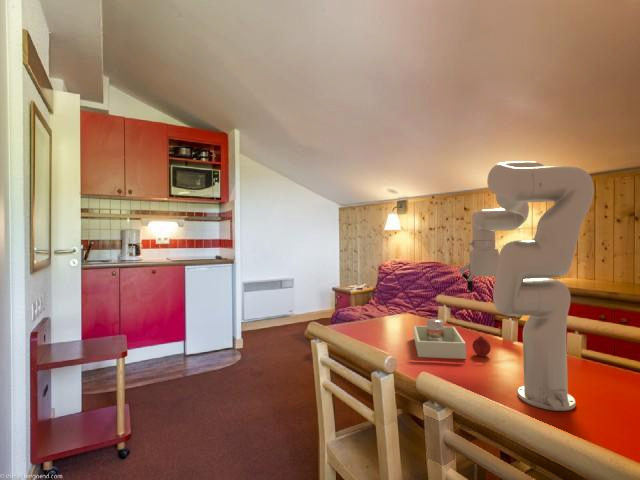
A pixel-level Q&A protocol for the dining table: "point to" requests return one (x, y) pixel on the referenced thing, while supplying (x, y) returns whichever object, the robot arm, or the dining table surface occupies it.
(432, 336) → the glass jar
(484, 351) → the onion
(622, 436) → the dining table surface
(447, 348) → the tote
